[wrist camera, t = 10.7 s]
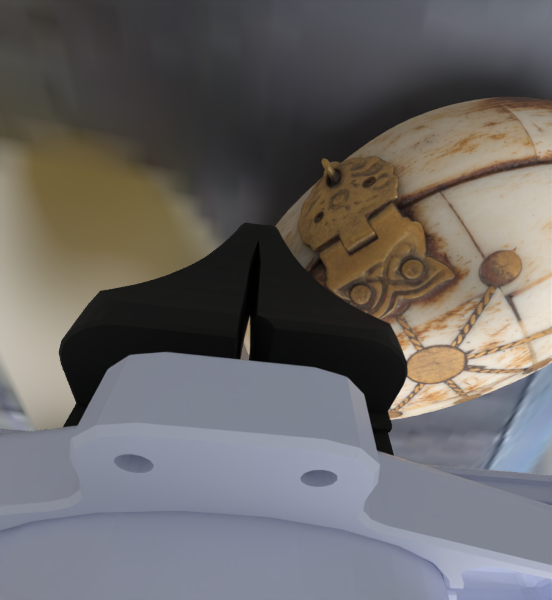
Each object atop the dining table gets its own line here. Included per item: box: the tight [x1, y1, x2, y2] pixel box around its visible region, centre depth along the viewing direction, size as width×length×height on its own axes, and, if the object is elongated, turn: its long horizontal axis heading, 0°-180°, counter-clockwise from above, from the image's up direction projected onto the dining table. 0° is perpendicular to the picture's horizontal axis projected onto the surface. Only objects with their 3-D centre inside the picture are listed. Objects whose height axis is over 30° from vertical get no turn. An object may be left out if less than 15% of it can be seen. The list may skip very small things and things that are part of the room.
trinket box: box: [244, 97, 552, 420], centre depth 14 cm, size 13×15×8 cm
